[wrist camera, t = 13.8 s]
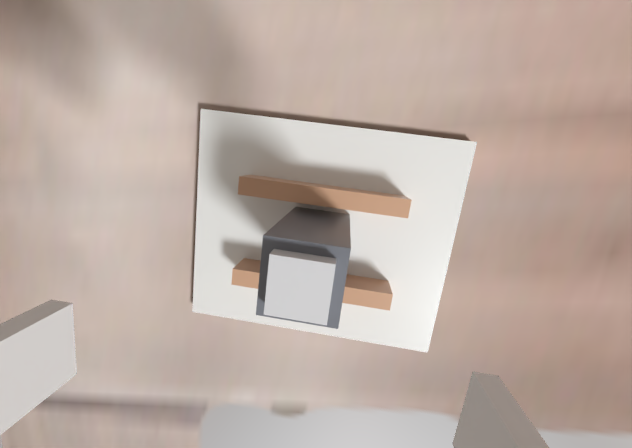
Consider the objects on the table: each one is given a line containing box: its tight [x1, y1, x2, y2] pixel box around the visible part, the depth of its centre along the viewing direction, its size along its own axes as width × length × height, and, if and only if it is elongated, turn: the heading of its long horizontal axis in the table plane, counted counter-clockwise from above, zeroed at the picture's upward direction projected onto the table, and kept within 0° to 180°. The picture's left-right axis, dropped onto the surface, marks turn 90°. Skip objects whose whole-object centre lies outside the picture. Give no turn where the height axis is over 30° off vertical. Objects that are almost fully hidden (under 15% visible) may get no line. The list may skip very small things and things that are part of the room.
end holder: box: [192, 109, 477, 352], centre depth 27 cm, size 20×24×4 cm
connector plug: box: [256, 207, 351, 329], centre depth 22 cm, size 5×5×12 cm
